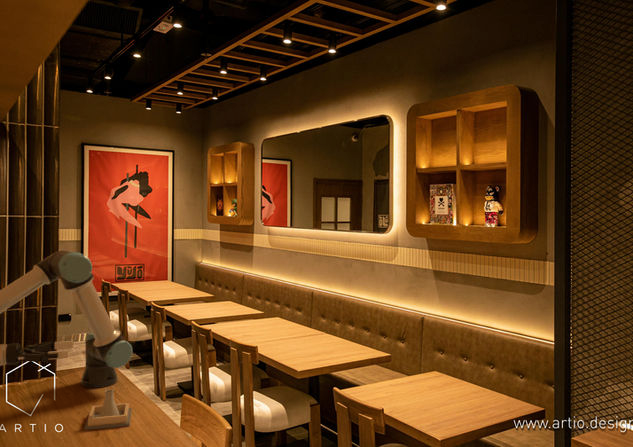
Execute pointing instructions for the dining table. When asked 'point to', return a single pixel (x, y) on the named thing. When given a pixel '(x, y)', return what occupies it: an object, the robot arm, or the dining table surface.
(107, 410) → the flask
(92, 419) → the holder
